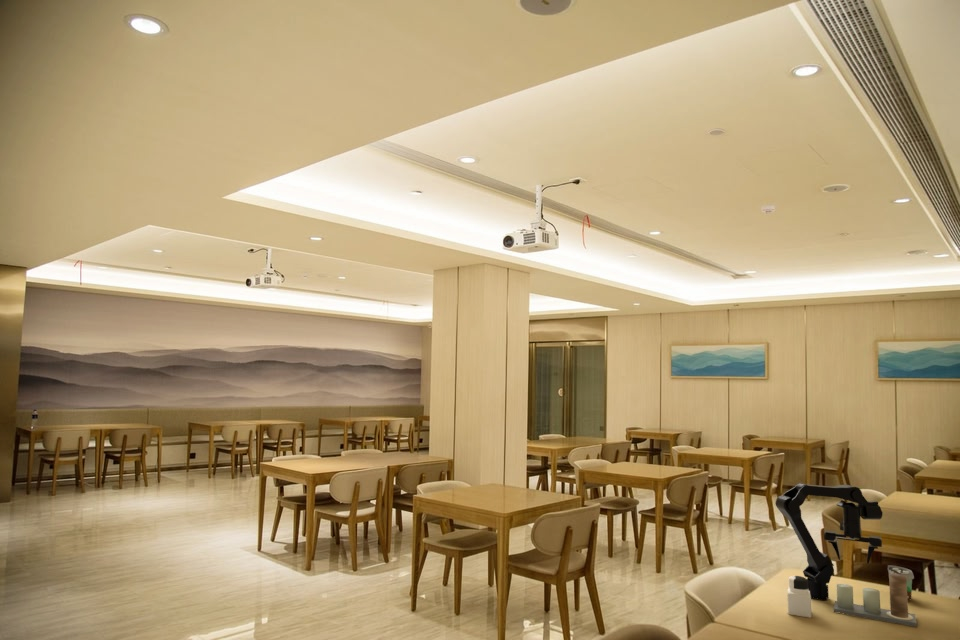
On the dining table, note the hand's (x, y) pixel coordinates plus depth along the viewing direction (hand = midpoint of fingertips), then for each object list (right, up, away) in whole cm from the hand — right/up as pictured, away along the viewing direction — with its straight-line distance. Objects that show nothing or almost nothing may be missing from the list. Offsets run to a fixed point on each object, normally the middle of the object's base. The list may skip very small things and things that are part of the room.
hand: (853, 561), depth 239 cm
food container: (+20, -14, +1) cm, 24 cm away
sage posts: (-8, -10, -17) cm, 22 cm away
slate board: (-5, -11, -20) cm, 23 cm away
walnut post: (+2, -9, -23) cm, 25 cm away
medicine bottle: (-30, -11, -19) cm, 37 cm away
